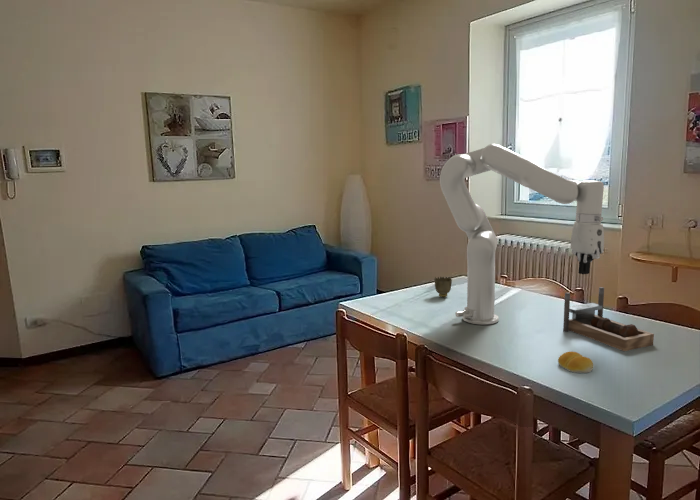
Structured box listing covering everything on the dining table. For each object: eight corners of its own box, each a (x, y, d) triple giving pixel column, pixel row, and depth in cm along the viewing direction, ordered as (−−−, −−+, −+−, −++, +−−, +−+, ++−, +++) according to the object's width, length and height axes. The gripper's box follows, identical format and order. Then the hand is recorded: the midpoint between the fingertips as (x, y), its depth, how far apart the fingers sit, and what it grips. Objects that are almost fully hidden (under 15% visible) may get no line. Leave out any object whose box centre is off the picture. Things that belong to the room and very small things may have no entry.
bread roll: (577, 376, 136) (578, 362, 135) (552, 364, 144) (553, 351, 143) (601, 371, 139) (601, 357, 138) (575, 359, 147) (576, 346, 146)
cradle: (618, 352, 150) (621, 310, 148) (562, 330, 171) (563, 292, 168) (658, 343, 156) (661, 302, 154) (599, 323, 177) (601, 287, 174)
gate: (574, 328, 169) (574, 310, 168) (564, 325, 172) (565, 307, 171) (601, 323, 173) (602, 305, 172) (591, 320, 177) (592, 302, 176)
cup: (453, 298, 213) (453, 280, 212) (435, 299, 213) (435, 280, 212) (450, 294, 220) (450, 276, 219) (433, 294, 220) (433, 276, 219)
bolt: (594, 332, 170) (633, 345, 156) (584, 326, 168) (622, 339, 154) (602, 316, 170) (641, 328, 156) (592, 310, 169) (630, 322, 155)
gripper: (616, 220, 161) (611, 277, 164) (579, 215, 175) (575, 268, 178) (598, 222, 158) (593, 279, 162) (562, 216, 172) (558, 270, 175)
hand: (583, 273), depth 170 cm, fingers closed
